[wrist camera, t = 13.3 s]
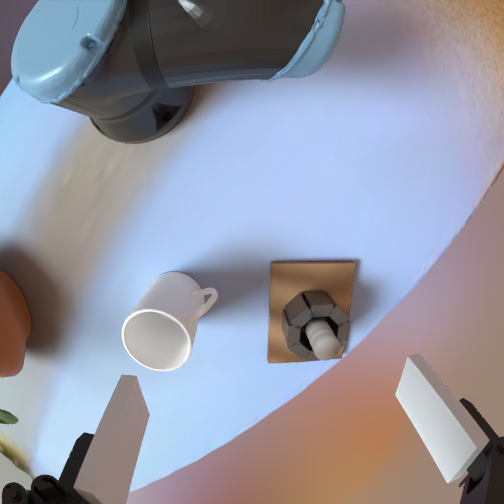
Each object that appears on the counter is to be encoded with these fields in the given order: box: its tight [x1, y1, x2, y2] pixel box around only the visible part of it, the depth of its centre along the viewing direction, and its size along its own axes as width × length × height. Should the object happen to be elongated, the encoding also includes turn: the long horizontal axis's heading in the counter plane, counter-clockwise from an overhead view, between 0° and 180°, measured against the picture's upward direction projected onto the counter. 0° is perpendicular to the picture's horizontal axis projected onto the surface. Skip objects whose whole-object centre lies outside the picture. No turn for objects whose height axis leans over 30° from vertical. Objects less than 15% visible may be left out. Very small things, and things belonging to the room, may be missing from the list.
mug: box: [122, 272, 218, 371], centre depth 35 cm, size 12×8×12 cm
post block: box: [267, 261, 356, 363], centre depth 38 cm, size 16×12×10 cm
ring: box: [282, 290, 350, 361], centre depth 39 cm, size 8×8×5 cm
